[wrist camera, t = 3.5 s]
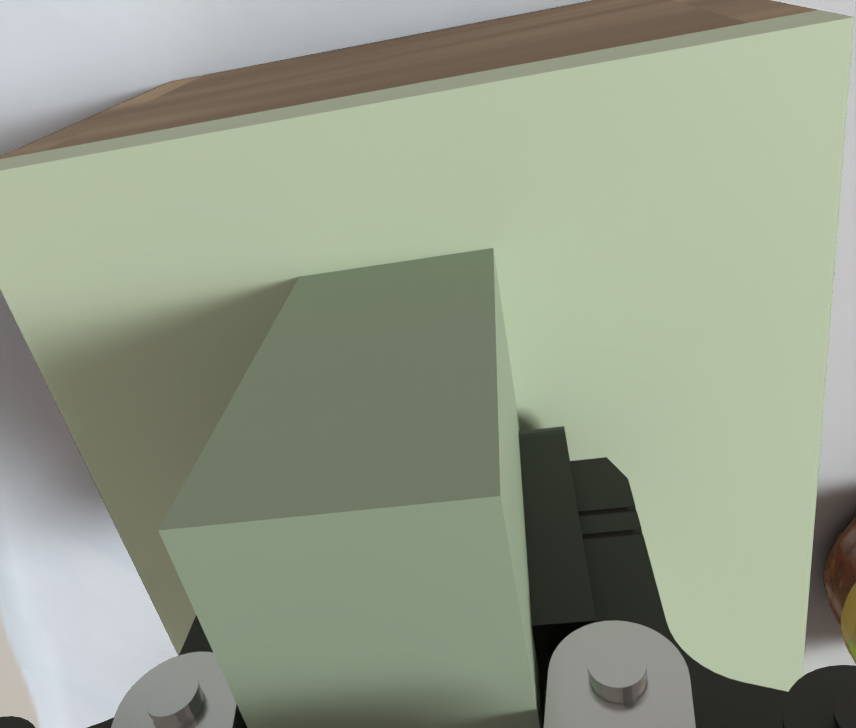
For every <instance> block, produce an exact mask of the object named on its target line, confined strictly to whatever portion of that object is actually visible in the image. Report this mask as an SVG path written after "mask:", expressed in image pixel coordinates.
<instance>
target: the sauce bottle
mask: <svg viewBox="0 0 856 728" xmlns="http://www.w3.org/2000/svg"><path fill="white" fill-rule="evenodd" d="M823 579H824V586H825V588H826V592H827V594H828V595H829V600H830V606H831V608H832V611H833V613H834V615H835V617H836V619H837V620H838V622H839V624H840V627H841V632H842V635H843V638H844V642H845V645H846V647H847V649H848V651H849V653H850V654H851V656H852V658H853V659H854V661H855V663H856V516H855V518H854V519H853V520H852V521H851V522H850V524H849V525H848V526H847V528H846V529H845V530H844V531H843V532H842V533H841V534H840V535H839V536H838V537H837V539H836V542H835V544H834V547H833V548H832V550H831V551H830V553H829V555H828V558H827V561H826V565H825V568H824V576H823Z"/></svg>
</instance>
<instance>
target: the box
mask: <svg viewBox="0 0 856 728" xmlns="http://www.w3.org/2000/svg"><path fill="white" fill-rule="evenodd" d="M811 11H816V9H811V8H806V7H801V6H796V5H791V4H786V3H781V2H776V1H771V0H593V1H588V2H582V3H577V4H572V5H567V6H562V7H556V8H551V9H546V10H541V11H536V12H530V13H525V14H520V15H515V16H509V17H504V18H499V19H494V20H489V21H483V22H478V23H473V24H468V25H463V26H457V27H452V28H447V29H442V30H437V31H431V32H426V33H421V34H416V35H411V36H405V37H400V38H395V39H390V40H384V41H379V42H374V43H369V44H364V45H358V46H353V47H348V48H343V49H338V50H332V51H327V52H322V53H317V54H312V55H306V56H301V57H296V58H291V59H285V60H280V61H275V62H270V63H265V64H259V65H254V66H249V67H244V68H239V69H233V70H228V71H223V72H218V73H213V74H207V75H202V76H197V77H192V78H187V79H181V80H176V81H171V82H169V83H166V84H164V85H162V86H159V87H157V88H155V89H153V90H150V91H148V92H146V93H144V94H141V95H139V96H137V97H134V98H132V99H130V100H128V101H125V102H123V103H121V104H118V105H116V106H114V107H112V108H109V109H107V110H105V111H103V112H100V113H98V114H96V115H93V116H91V117H89V118H87V119H84V120H82V121H80V122H77V123H75V124H73V125H71V126H68V127H66V128H64V129H62V130H59V131H57V132H55V133H52V134H50V135H48V136H46V137H43V138H41V139H39V140H37V141H34V142H32V143H30V144H27V145H25V146H23V147H21V148H18V149H16V150H14V151H11V152H9V153H7V154H5V155H2V156H0V159H4V158H9V157H14V156H20V155H25V154H31V153H36V152H42V151H47V150H53V149H58V148H64V147H69V146H75V145H80V144H86V143H91V142H97V141H102V140H108V139H113V138H119V137H124V136H130V135H135V134H141V133H146V132H152V131H157V130H163V129H168V128H174V127H179V126H185V125H190V124H196V123H201V122H207V121H212V120H218V119H223V118H229V117H234V116H240V115H245V114H251V113H256V112H262V111H267V110H273V109H278V108H284V107H289V106H295V105H300V104H305V103H311V102H316V101H322V100H327V99H333V98H338V97H344V96H349V95H355V94H360V93H366V92H371V91H377V90H382V89H388V88H393V87H399V86H404V85H410V84H415V83H421V82H426V81H432V80H437V79H443V78H448V77H454V76H459V75H465V74H470V73H476V72H481V71H487V70H492V69H498V68H503V67H509V66H514V65H520V64H525V63H531V62H536V61H542V60H547V59H553V58H558V57H564V56H569V55H575V54H580V53H585V52H591V51H596V50H602V49H607V48H613V47H618V46H624V45H629V44H635V43H640V42H646V41H651V40H657V39H662V38H668V37H673V36H679V35H684V34H690V33H695V32H701V31H706V30H712V29H717V28H723V27H728V26H734V25H739V24H745V23H750V22H756V21H761V20H767V19H772V18H778V17H783V16H789V15H794V14H800V13H805V12H811Z"/></svg>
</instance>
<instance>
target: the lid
mask: <svg viewBox="0 0 856 728" xmlns="http://www.w3.org/2000/svg"><path fill="white" fill-rule="evenodd" d="M853 26H854V17H851V16H846V15H841V14H836V13H831V12H826V11H821V10H816V11H811V12H805V13H800V14H794V15H789V16H783V17H778V18H772V19H767V20H761V21H756V22H750V23H745V24H739V25H734V26H728V27H723V28H717V29H712V30H706V31H701V32H695V33H690V34H684V35H679V36H673V37H668V38H662V39H657V40H651V41H646V42H640V43H635V44H629V45H624V46H618V47H613V48H607V49H602V50H596V51H591V52H585V53H580V54H575V55H569V56H564V57H558V58H553V59H547V60H542V61H536V62H531V63H525V64H520V65H514V66H509V67H503V68H498V69H492V70H487V71H481V72H476V73H470V74H465V75H459V76H454V77H448V78H443V79H437V80H432V81H426V82H421V83H415V84H410V85H404V86H399V87H393V88H388V89H382V90H377V91H371V92H366V93H360V94H355V95H349V96H344V97H338V98H333V99H327V100H322V101H316V102H311V103H305V104H300V105H295V106H289V107H284V108H278V109H273V110H267V111H262V112H256V113H251V114H245V115H240V116H234V117H229V118H223V119H218V120H212V121H207V122H201V123H196V124H190V125H185V126H179V127H174V128H168V129H163V130H157V131H152V132H146V133H141V134H135V135H130V136H124V137H119V138H113V139H108V140H102V141H97V142H91V143H86V144H80V145H75V146H69V147H64V148H58V149H53V150H47V151H42V152H36V153H31V154H25V155H20V156H14V157H9V158H4V159H0V290H1V292H2V294H3V296H4V298H5V300H6V302H7V304H8V306H9V308H10V310H11V312H12V314H13V316H14V319H15V321H16V323H17V325H18V327H19V329H20V331H21V333H22V335H23V337H24V339H25V341H26V343H27V345H28V347H29V349H30V351H31V353H32V356H33V358H34V360H35V362H36V364H37V366H38V368H39V370H40V372H41V374H42V376H43V378H44V380H45V382H46V384H47V386H48V388H49V391H50V393H51V395H52V397H53V399H54V401H55V403H56V405H57V407H58V409H59V411H60V413H61V415H62V417H63V419H64V421H65V423H66V426H67V428H68V430H69V432H70V434H71V436H72V438H73V440H74V442H75V444H76V446H77V448H78V450H79V452H80V454H81V456H82V458H83V460H84V463H85V465H86V467H87V469H88V471H89V473H90V475H91V477H92V479H93V481H94V483H95V485H96V487H97V489H98V491H99V493H100V495H101V498H102V500H103V502H104V504H105V506H106V508H107V510H108V512H109V514H110V516H111V518H112V520H113V522H114V524H115V526H116V528H117V530H118V533H119V535H120V537H121V539H122V541H123V543H124V545H125V547H126V549H127V551H128V553H129V555H130V557H131V559H132V561H133V563H134V565H135V567H136V570H137V572H138V574H139V576H140V578H141V580H142V582H143V584H144V586H145V588H146V590H147V592H148V594H149V596H150V598H151V600H152V602H153V605H154V607H155V609H156V611H157V613H158V615H159V617H160V619H161V621H162V623H163V625H164V627H165V629H166V631H167V633H168V635H169V637H170V640H171V642H172V644H173V646H174V648H175V650H176V652H177V654H178V656H179V654H180V652H181V649H182V647H183V645H184V642H185V640H186V638H187V635H188V633H189V631H190V628H191V626H192V624H193V621H194V619H195V617H196V615H197V617H198V620H199V622H200V624H201V626H202V629H203V631H204V633H205V635H206V637H207V640H208V642H209V644H210V646H211V648H212V651H213V653H214V655H215V657H216V659H217V662H218V664H219V666H220V668H221V670H222V673H223V675H224V677H225V679H226V681H227V684H228V686H229V688H230V690H231V693H232V695H233V697H234V699H235V701H236V704H237V706H238V708H239V710H240V712H241V715H242V717H243V719H244V721H245V723H246V726H247V728H544V717H545V704H544V698H543V692H542V685H541V679H540V673H539V667H538V661H537V655H536V649H535V642H534V636H533V630H532V622H531V607H530V593H529V578H528V564H527V549H526V535H525V521H524V506H523V492H522V477H521V463H520V448H519V431H525V430H534V429H542V428H551V427H560V426H564V428H565V434H566V440H567V446H568V452H569V458H570V461H575V460H585V459H594V458H603V457H607V458H608V459H609V460H610V461H611V462H612V463H613V464H614V465H615V466H616V467H617V468H618V469H619V470H620V471H621V472H622V473H623V474H624V475H625V476H626V477H627V478H628V480H629V484H630V487H631V491H632V495H633V499H634V502H635V506H636V511H637V514H638V517H639V521H640V525H641V528H642V535H643V536H644V540H645V543H646V547H647V551H648V555H649V558H650V562H651V566H652V569H653V573H654V577H655V581H656V584H657V588H658V592H659V596H660V599H661V603H662V607H663V611H664V614H665V618H666V622H667V624H668V627H669V630H670V632H671V634H672V635H673V637H674V639H675V641H676V642H677V643H678V644H679V646H680V647H681V648H682V649H683V650H684V651H685V652H686V653H687V654H688V655H689V656H690V657H691V658H692V659H694V660H695V661H697V662H698V663H700V664H701V665H702V666H704V667H706V668H708V669H709V670H711V671H713V672H715V673H717V674H720V675H722V676H725V677H727V678H730V679H734V680H737V681H741V682H745V683H750V684H754V685H759V686H764V687H769V688H773V689H778V690H783V691H787V692H789V690H790V688H791V687H792V686H793V685H794V684H795V683H796V682H797V680H798V679H800V678H801V677H802V675H803V662H804V650H805V637H806V624H807V612H808V599H809V586H810V573H811V561H812V548H813V535H814V522H815V510H816V497H817V484H818V472H819V459H820V446H821V433H822V421H823V408H824V395H825V382H826V370H827V357H828V344H829V332H830V319H831V306H832V293H833V281H834V268H835V255H836V243H837V230H838V217H839V204H840V192H841V179H842V166H843V153H844V141H845V128H846V115H847V103H848V90H849V77H850V64H851V52H852V39H853Z"/></svg>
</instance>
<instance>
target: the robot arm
mask: <svg viewBox="0 0 856 728" xmlns="http://www.w3.org/2000/svg"><path fill="white" fill-rule="evenodd" d="M519 448H520V463H521V477H522V492H523V506H524V521H525V535H526V549H527V564H528V578H529V593H530V607H531V622H532V630H533V636H534V642H535V649H536V655H537V661H538V667H539V673H540V679H541V685H542V692H543V698H544V704H545V717H544V728H856V666H850V665H838V666H828V667H824V668H820V669H817V670H814V671H812V672H810V673H807V674H806V675H804V676H803V677H801V678H800V679H798V680H797V682H796V683H795V684H794V685H793V686H792V687H791V688H790V690H789V692H787V691H783V690H778V689H773V688H769V687H764V686H759V685H754V684H750V683H745V682H741V681H737V680H734V679H730V678H727V677H725V676H722V675H720V674H717V673H715V672H713V671H711V670H709V669H708V668H706V667H704V666H702V665H701V664H700V663H698V662H697V661H695V660H694V659H692V658H691V657H690V656H689V655H688V654H687V653H686V652H685V651H684V650H683V649H682V648H681V647H680V646H679V644H678V643H677V642H676V641H675V639H674V637H673V635H672V634H671V632H670V630H669V627H668V624H667V622H666V618H665V614H664V611H663V607H662V603H661V599H660V596H659V592H658V588H657V584H656V581H655V577H654V573H653V569H652V566H651V562H650V558H649V555H648V551H647V547H646V543H645V540H644V536H643V535H642V528H641V525H640V521H639V517H638V514H637V511H636V506H635V502H634V499H633V495H632V491H631V487H630V484H629V480H628V478H627V477H626V476H625V475H624V474H623V473H622V472H621V471H620V470H619V469H618V468H617V467H616V466H615V465H614V464H613V463H612V462H611V461H610V460H609V459H608V458H607V457H603V458H594V459H585V460H575V461H570V458H569V452H568V446H567V440H566V434H565V428H564V426H560V427H551V428H542V429H534V430H525V431H519ZM0 728H35V727H34V725H33V724H31V723H30V722H29V721H28V720H25V719H23V718H20V717H13V716H9V717H0ZM88 728H247V726H246V723H245V721H244V719H243V717H242V715H241V712H240V710H239V708H238V706H237V704H236V701H235V699H234V697H233V695H232V693H231V690H230V688H229V686H228V684H227V681H226V679H225V677H224V675H223V673H222V670H221V668H220V666H219V664H218V662H217V659H216V657H215V655H214V653H213V651H212V648H211V646H210V644H209V642H208V640H207V637H206V635H205V633H204V631H203V629H202V626H201V624H200V622H199V620H198V617H197V615H196V617H195V619H194V621H193V624H192V626H191V628H190V631H189V633H188V635H187V638H186V640H185V642H184V645H183V647H182V649H181V652H180V654H179V656H177V657H174V658H171V659H169V660H167V661H165V662H163V663H161V664H159V665H158V666H156V667H155V668H153V669H152V670H150V671H149V672H148V673H146V674H145V675H144V676H143V677H142V678H140V679H139V680H138V681H137V682H136V683H135V684H134V685H133V686H132V688H131V689H130V690H129V691H128V693H127V694H126V695H125V697H124V698H123V700H122V702H121V703H120V705H119V707H118V709H117V712H116V714H115V717H114V718H112V719H109V720H107V721H104V722H102V723H99V724H96V725H93V726H90V727H88Z"/></svg>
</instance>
